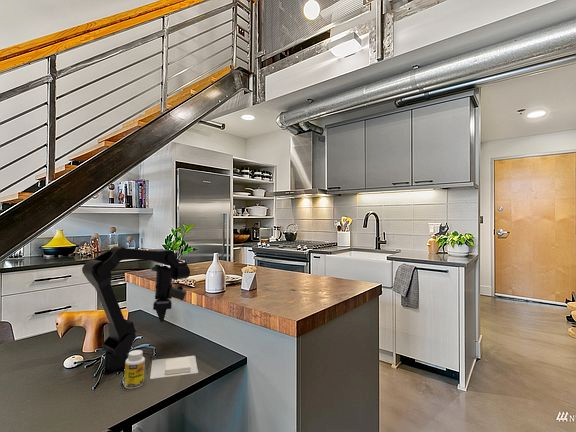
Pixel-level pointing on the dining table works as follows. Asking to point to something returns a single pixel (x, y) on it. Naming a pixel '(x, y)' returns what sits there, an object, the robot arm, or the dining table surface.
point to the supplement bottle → (134, 369)
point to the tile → (177, 366)
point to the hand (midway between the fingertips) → (161, 321)
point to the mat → (159, 367)
